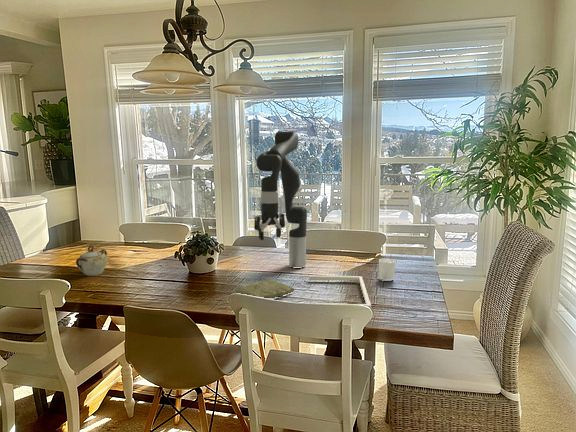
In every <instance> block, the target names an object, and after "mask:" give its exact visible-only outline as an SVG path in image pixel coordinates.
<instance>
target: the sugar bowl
mask: <svg viewBox="0 0 576 432" xmlns="http://www.w3.org/2000/svg"><path fill="white" fill-rule="evenodd" d="M107 255H108V252H107V250H106V249H101V250H99V251H97V250H95V247H94V246H93V245H89V246H88V247H87V251H86V252H84V253H81V254H80V255H79V257H77V259H76V261H75V264H76V266H77V268H78V270H80V271H81V272H82V273H83V274H84V275H85V276H88V277H91V276H92V277H93V276H98V275H101V274H102V273H103V272H104V270H105V269H106V267H107V265H108V263H109V257H108V256H107Z"/></svg>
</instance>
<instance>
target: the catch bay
mask: <svg viewBox="0 0 576 432" xmlns="http://www.w3.org/2000/svg"><path fill="white" fill-rule="evenodd" d="M308 276H309V277H308V281H309V280H359V282H360V286H361V289H360V291H361V290H362V293H363V296H362V298H363V297H364V300H365V303H366V304H365V303H358V304H359V305H365V306H368V307H370V308H371V309H372V303H371V301H370V298H369V294H368V291H367V289H366V285H365V281H364V278H363V276H358V275H353V276H352V275H314V274H313V275H311V274H310V275H308ZM360 286H359V287H360ZM362 293H361V294H362ZM364 300H363V301H364ZM314 303H315V304H347V303H344V302H343V303H341V302H337V303H335V302H333V303H332V302H314Z"/></svg>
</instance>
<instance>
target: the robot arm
mask: <svg viewBox="0 0 576 432" xmlns="http://www.w3.org/2000/svg"><path fill="white" fill-rule="evenodd" d="M299 143H300V142H299V136H298V133H297V132H296V131H294V130H293V131H291V130H290V131H289V130H287V131H276V132H275V134H274V145H273V146H272V147H271V148H270V149H269V150H266V151H265V152H262V153H260V155H258V157H257V158H256V168H257V169H258V170H259V171H261V172H271V175H269V176H264V177H262V178H261V181H260V183H261V184H260V187H261V189H260V190H261V191H260V212H261V213H260V214H261V215H260V216H259V215H255V216H254V222H253V223H254V226H253V227H254V228H253V229H254V230H255V231H257V232H258V239H259V240H260V241H264V240H265V236H264V230H265V229H266V228H267V227H268V226H274V227H275V237H276V238H278V239H279V238H281V236H282V228H285V227H286V222H287V223H289V224H294V225H295V224H296V225H297V224H298V227H296V228H293V229H290V230H289V232H288V257H289V258H288V267H289V266H291V267H303V266H305V265H306V266H307V221H308V220H307V219H308V211H307V208H306V207H305V206H294V205H293V203H294V202H293V201H294V198H295V196H296V194H297V193H298V191H299V189H300V188H301V187H300V186H301V180H300V173H299V171H298V169H297V168H296V166H295V165H294V164H293V163H292V162H291V161H290V159H289V158H288V156H287V155H289V154H290V153H292V152H293V151H295V150H296V149H297V148H298V147H299ZM279 176H280V179H281V185H282V190H283V191H282V192H283V197H284V206H285V207H284V208H285V211H284V212H285V214H284V213H281V212H280V213H279V191H278V190H279V188H278V187H279V185H278V184H279ZM278 219H279V220H278ZM285 219H286V220H285ZM285 221H286V222H285Z"/></svg>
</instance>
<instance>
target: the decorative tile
mask: <svg viewBox="0 0 576 432" xmlns="http://www.w3.org/2000/svg"><path fill="white" fill-rule="evenodd" d="M293 291H294V292H295V288H294V287H292V286H290V285H286V284H285V283H282V282H278V281H276V280H271V279H265V280H261V281H258V282H255V283H251V284H248V285H245V286H240V287H239V288H237V289H235V294H236V293H241V294H247V295H253V296H259V297H264V298H275V297H278V296H283V295H285V294H288V293H291V292H293Z"/></svg>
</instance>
